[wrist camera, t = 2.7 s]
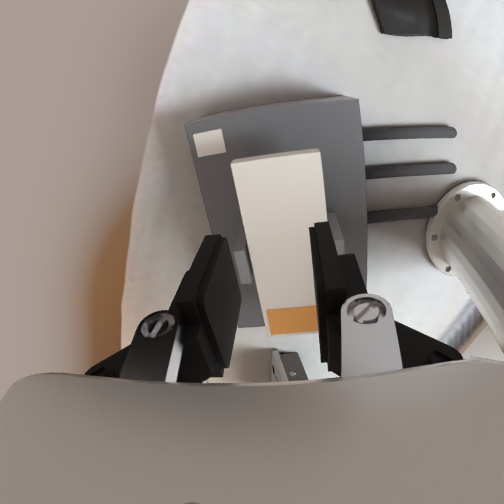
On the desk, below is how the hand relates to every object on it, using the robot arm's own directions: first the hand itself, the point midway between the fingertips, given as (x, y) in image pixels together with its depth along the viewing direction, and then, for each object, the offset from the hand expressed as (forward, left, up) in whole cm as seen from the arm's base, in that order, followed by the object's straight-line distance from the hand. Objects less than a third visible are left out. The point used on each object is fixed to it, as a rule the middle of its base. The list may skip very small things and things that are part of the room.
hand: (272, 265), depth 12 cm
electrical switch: (+3, +32, -22) cm, 39 cm away
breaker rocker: (0, +6, -11) cm, 13 cm away
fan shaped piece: (-16, -17, -22) cm, 32 cm away
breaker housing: (0, +6, -21) cm, 22 cm away
